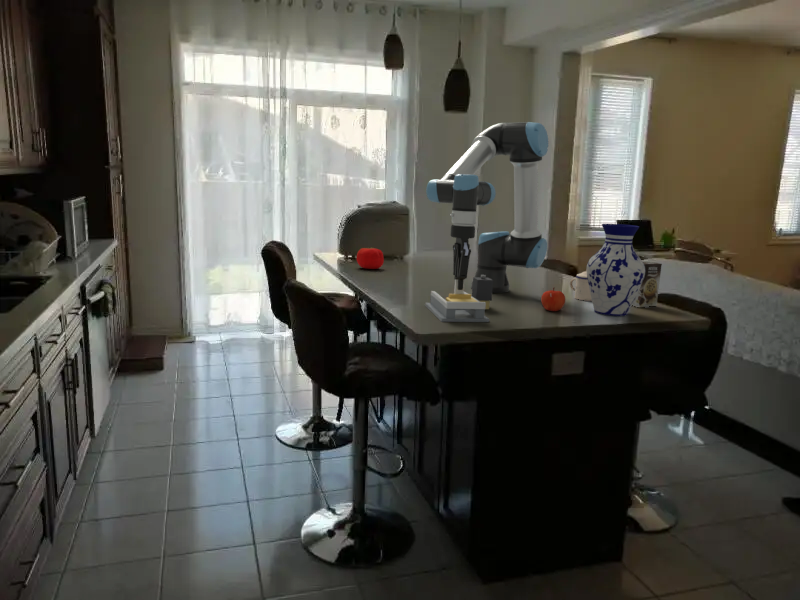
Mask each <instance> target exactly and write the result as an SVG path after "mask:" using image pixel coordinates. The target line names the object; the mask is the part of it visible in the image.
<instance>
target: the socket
mask: <svg viewBox="0 0 800 600" xmlns="http://www.w3.org/2000/svg"><path fill="white" fill-rule="evenodd" d="M464 294H469V293H468V292H466V291H464ZM471 298H474V297H472V295H471ZM474 299H475V298H474ZM475 300H476V301H478V300H477V299H475ZM424 306H425V307H426V308H427V310H429V311H430V312H431V313H432V314H433V315H434V316H435V317H436V319H438V320H439V321H440V322H442V323H443V322H444V323H446V322H447V323H448V322H450V323H451V322H453V323H490V318H489V317H487V316H486V315H485V314H486V313H485V311H486V309H485V306H486V303H485V302H480V301H478V302H447V301H446V298H444V297H442V296H441V295H440V294H439V293H438V292H436V291H435V290H431V291H430V298H429V302H425V303H424Z"/></svg>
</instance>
